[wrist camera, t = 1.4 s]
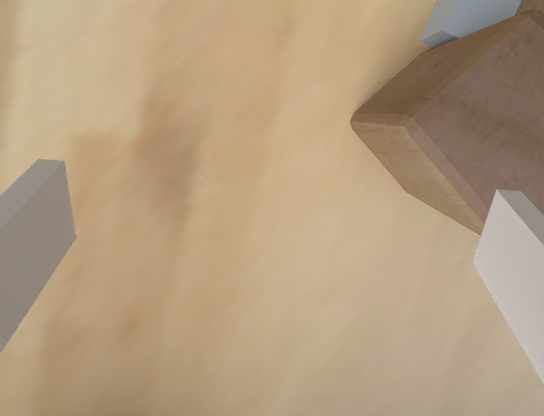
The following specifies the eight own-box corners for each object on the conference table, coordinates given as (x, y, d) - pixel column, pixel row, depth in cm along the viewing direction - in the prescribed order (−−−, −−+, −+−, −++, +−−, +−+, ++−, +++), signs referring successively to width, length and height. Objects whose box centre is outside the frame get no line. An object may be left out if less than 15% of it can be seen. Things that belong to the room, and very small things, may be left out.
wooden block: (426, 47, 46) (543, -4, 26) (492, 128, 47) (650, 139, 27) (343, 120, 47) (395, 125, 27) (410, 198, 48) (505, 256, 29)
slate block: (492, 8, 45) (525, -8, 39) (468, 61, 46) (497, 54, 40) (442, -13, 45) (468, -32, 39) (419, 41, 46) (441, 30, 40)
